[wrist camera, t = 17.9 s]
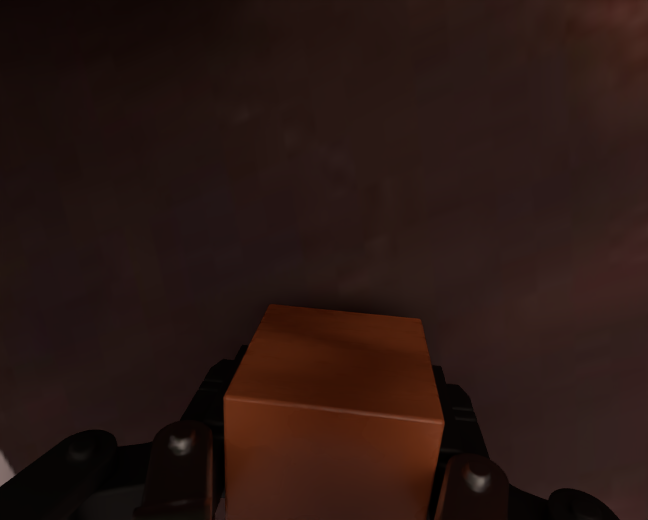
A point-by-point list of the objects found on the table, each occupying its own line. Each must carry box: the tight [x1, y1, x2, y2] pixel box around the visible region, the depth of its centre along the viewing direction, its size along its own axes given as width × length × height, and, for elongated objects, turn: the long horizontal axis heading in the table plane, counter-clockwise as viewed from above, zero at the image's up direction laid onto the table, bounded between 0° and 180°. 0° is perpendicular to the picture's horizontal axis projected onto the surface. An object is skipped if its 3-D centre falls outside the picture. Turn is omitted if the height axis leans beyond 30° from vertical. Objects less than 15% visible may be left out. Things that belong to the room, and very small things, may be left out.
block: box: [223, 304, 445, 520], centre depth 12 cm, size 4×4×4 cm
